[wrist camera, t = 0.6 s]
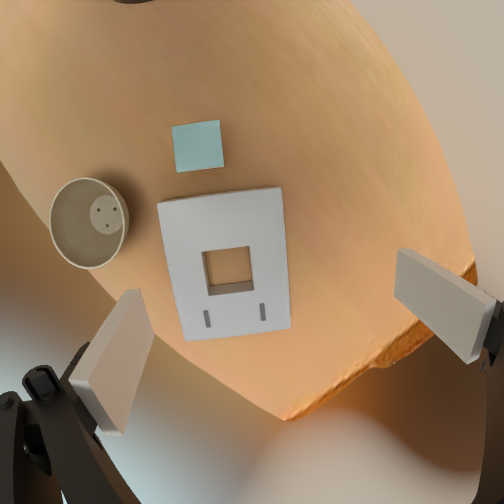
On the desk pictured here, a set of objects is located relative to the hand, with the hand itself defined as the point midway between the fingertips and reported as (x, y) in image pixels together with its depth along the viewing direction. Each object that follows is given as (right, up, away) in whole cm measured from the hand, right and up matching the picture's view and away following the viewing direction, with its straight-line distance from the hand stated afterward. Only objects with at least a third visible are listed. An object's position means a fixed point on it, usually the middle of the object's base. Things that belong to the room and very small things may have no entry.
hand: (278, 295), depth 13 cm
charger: (-7, +14, +19) cm, 24 cm away
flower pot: (-20, +7, +20) cm, 29 cm away
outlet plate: (-4, +1, +23) cm, 23 cm away
